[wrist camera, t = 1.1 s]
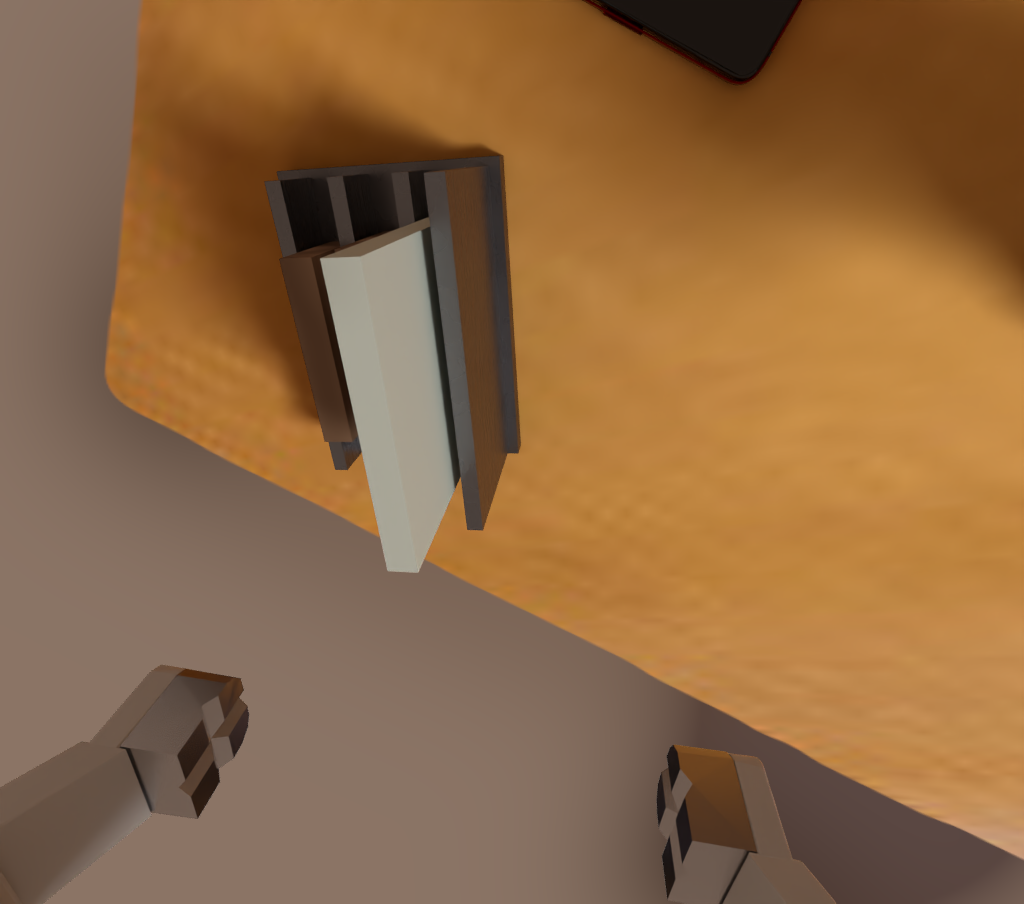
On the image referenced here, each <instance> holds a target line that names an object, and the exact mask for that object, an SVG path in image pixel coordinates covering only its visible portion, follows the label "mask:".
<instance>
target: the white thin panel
mask: <svg viewBox="0 0 1024 904" xmlns="http://www.w3.org/2000/svg"><path fill="white" fill-rule="evenodd" d="M320 261H321V265H322V270H323V275H324V279H325V284H326V288H327V293H328V298H329V302H330V307H331V312H332V316H333V321H334V325H335V330H336V335H337V339H338V344H339V349H340V353H341V358H342V362H343V367H344V372H345V376H346V381H347V386H348V390H349V395H350V399H351V404H352V409H353V413H354V418H355V423H356V427H357V432H358V436H359V441H360V446H361V450H362V455H363V460H364V464H365V469H366V473H367V478H368V483H369V487H370V492H371V497H372V501H373V506H374V510H375V515H376V520H377V524H378V529H379V534H380V538H381V542H382V547H383V552H384V556H385V561H386V566H387V571H398V572H419V569H420V567H421V565H422V563H423V561H424V558H425V556H426V554H427V552H428V549H429V547H430V545H431V542H432V540H433V538H434V536H435V533H436V531H437V529H438V527H439V524H440V522H441V520H442V517H443V515H444V513H445V511H446V508H447V506H448V504H449V502H450V499H451V497H452V495H453V492H454V490H455V488H456V486H457V483H458V481H459V479H460V477H461V474H460V466H459V458H458V449H457V441H456V433H455V425H454V417H453V409H452V401H451V392H450V384H449V376H448V368H447V360H446V352H445V343H444V335H443V327H442V319H441V311H440V303H439V294H438V286H437V278H436V270H435V262H434V254H433V246H432V237H431V229H430V221H429V217H428V218H425V219H422V220H420V221H417V222H414V223H412V224H409V225H407V226H404V227H401V228H399V229H396V230H393V231H391V232H388V233H385V234H383V235H380V236H378V237H375V238H372V239H370V240H367V241H364V242H362V243H359V244H356V245H354V246H351V247H349V248H346V249H343V250H341V251H338V252H335V253H333V254H330V255H327V256H325V257H322V258H320Z"/></svg>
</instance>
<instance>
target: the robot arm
mask: <svg viewBox="0 0 1024 904" xmlns="http://www.w3.org/2000/svg"><path fill="white" fill-rule="evenodd" d="M243 691H244V689H243V685H242V682H241V678H236V677H231V676H224V675H219V674H213V673H207V672H202V671H196V670H190V669H186V668H179V667H173V666H166V665H160V666H158V667H157V668H155V669H154V670H152V671H151V672H150V673H149V674H148V675H147V676H146V677H145V679H144V680H143V681H142V682H141V683H140V684H139V686H138V687H137V688H136V689H135V690H134V691H133V692H132V694H131V695H130V696H129V697H128V698H127V699H126V701H125V702H124V703H123V704H122V705H121V706H120V708H119V709H118V710H117V711H116V712H115V713H114V714H113V716H112V717H111V718H110V719H109V720H108V721H107V723H106V724H105V725H104V726H103V727H102V729H101V730H100V731H99V732H98V733H97V734H96V735H95V737H94V738H93V739H92V740H91V741H90V742H89V743H88V742H80V743H78V744H76V745H75V746H73V747H71V748H69V749H67V750H66V751H64V752H62V753H60V754H59V755H57V756H55V757H53V758H51V759H50V760H48V761H46V762H45V763H43V764H41V765H39V766H37V767H36V768H34V769H32V770H30V771H28V772H27V773H25V774H23V775H21V776H20V777H18V778H16V779H14V780H13V781H11V782H9V783H7V784H5V785H4V786H2V787H0V904H43V903H45V902H46V901H47V900H48V899H49V898H51V897H52V896H53V895H54V894H56V893H57V892H58V891H59V890H61V889H62V888H63V887H64V886H65V885H67V884H68V883H69V882H70V881H72V880H73V879H74V878H75V877H77V876H78V875H79V874H80V873H81V872H83V871H84V870H85V869H86V868H88V867H89V866H90V865H91V864H92V863H94V862H95V861H96V860H97V859H99V858H100V857H101V856H102V855H104V854H105V853H106V852H107V851H109V850H110V849H111V848H112V847H114V846H115V845H116V844H117V843H118V842H120V841H121V840H122V839H123V838H124V837H126V836H127V835H128V834H130V833H131V832H132V831H133V830H134V829H136V828H137V827H138V826H139V825H141V824H142V823H143V822H144V821H146V820H147V819H148V818H149V817H151V815H152V814H151V812H152V813H159V814H166V815H174V816H180V817H188V818H195V819H198V818H199V816H200V814H201V813H202V811H203V809H204V808H205V806H206V804H207V803H208V801H209V799H210V798H211V796H212V794H213V793H214V791H215V789H216V787H217V786H218V784H219V783H220V777H219V768H220V767H222V766H223V765H225V764H226V763H227V762H229V761H230V760H232V759H233V758H234V757H235V755H236V753H237V752H238V750H239V748H240V746H241V744H242V743H243V740H244V737H245V734H246V731H247V728H248V720H249V712H248V707H247V705H246V704H245V703H244V702H243V701H242V700H241V699H240V698H239V697H240V695H241V694H242V692H243ZM667 762H668V768H667V769H665V770H664V771H662V772H661V775H660V778H659V782H658V789H657V818H658V827H659V829H660V831H661V832H662V834H663V835H664V837H665V838H666V840H667V844H666V846H665V849H664V852H663V854H662V861H663V870H664V878H665V885H666V894H667V900H669V901H674V902H679V903H685V904H837V903H836V902H835V901H834V900H833V898H831V896H830V895H829V894H828V892H827V891H826V890H825V889H824V888H823V886H822V885H821V884H820V883H819V882H818V880H817V879H816V878H815V877H814V876H813V875H812V873H811V872H810V871H809V870H808V868H807V867H806V866H805V865H804V864H803V862H802V861H798V860H793V859H792V856H791V853H790V850H789V847H788V843H787V840H786V837H785V834H784V831H783V828H782V824H781V821H780V818H779V815H778V811H777V808H776V805H775V802H774V798H773V795H772V792H771V789H770V786H769V783H768V779H767V776H766V773H765V769H764V767H763V764H762V763H761V761H760V760H759V759H758V758H756V757H753V756H745V755H737V754H730V753H727V752H723V751H715V750H709V749H702V748H694V747H687V746H680V745H672V746H671V747H670V749H669V752H668V754H667Z"/></svg>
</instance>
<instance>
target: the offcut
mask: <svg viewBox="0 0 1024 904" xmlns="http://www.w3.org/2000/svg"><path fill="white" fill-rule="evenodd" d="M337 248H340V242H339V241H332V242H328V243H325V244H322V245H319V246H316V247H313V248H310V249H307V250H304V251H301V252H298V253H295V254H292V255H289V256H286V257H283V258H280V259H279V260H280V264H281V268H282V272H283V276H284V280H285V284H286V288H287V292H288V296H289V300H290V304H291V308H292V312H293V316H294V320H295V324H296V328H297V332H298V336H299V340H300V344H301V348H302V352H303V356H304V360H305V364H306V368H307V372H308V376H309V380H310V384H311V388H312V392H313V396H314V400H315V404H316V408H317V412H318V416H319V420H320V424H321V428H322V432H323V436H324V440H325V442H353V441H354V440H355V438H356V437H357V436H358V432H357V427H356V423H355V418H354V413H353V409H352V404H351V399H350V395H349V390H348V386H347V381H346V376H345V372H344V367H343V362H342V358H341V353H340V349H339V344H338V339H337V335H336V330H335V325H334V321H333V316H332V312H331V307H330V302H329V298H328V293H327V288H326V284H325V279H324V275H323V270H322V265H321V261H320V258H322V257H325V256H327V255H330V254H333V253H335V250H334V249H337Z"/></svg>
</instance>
